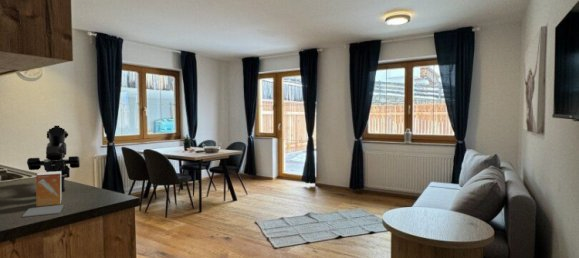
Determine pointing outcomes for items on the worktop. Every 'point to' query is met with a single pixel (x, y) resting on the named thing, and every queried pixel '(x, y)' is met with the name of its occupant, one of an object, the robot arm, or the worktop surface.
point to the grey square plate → (43, 210)
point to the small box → (48, 188)
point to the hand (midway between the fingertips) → (52, 178)
